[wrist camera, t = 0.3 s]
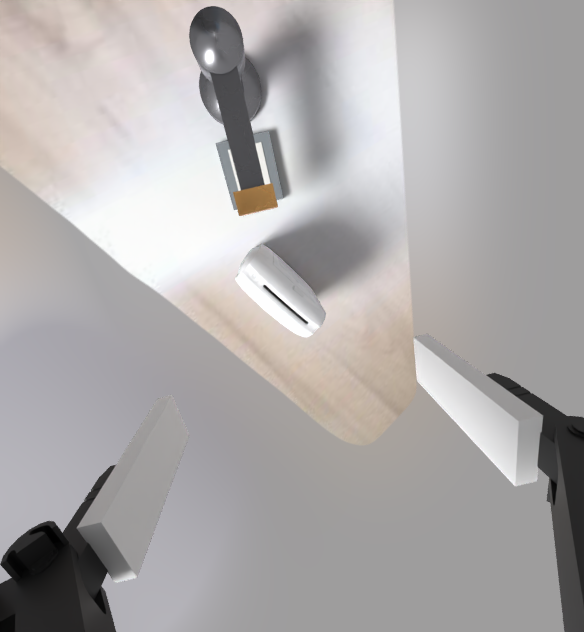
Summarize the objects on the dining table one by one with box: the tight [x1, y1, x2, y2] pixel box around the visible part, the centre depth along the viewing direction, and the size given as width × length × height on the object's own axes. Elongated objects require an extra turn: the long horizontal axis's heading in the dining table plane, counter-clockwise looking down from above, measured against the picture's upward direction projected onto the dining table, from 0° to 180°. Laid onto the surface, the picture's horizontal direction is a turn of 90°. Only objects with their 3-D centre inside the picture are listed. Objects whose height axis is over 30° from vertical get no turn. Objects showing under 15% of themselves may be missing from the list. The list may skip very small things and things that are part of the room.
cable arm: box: [189, 6, 278, 216], centre depth 24 cm, size 14×4×3 cm, turn 13°
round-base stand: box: [199, 58, 261, 125], centre depth 27 cm, size 6×6×7 cm
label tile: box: [216, 131, 283, 210], centre depth 32 cm, size 7×6×1 cm
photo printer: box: [235, 244, 326, 337], centre depth 32 cm, size 10×4×12 cm, turn 47°
